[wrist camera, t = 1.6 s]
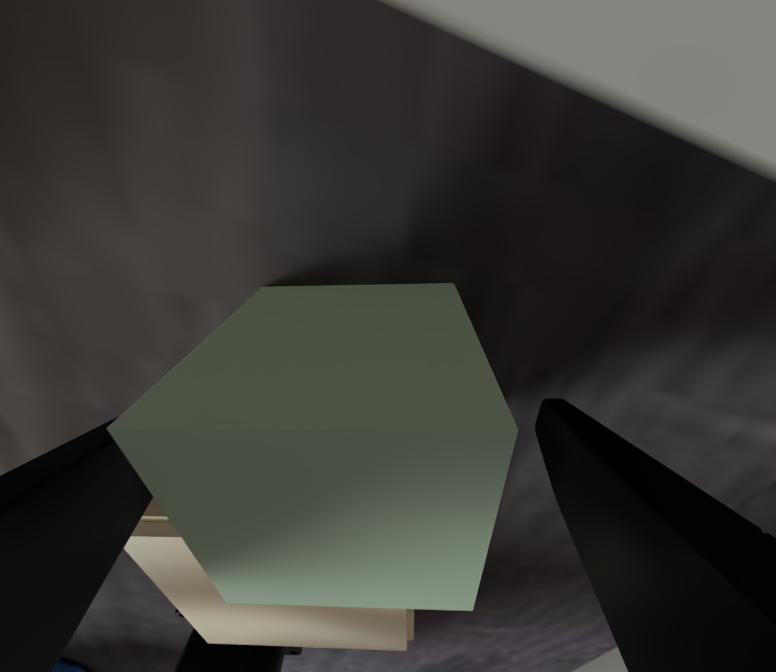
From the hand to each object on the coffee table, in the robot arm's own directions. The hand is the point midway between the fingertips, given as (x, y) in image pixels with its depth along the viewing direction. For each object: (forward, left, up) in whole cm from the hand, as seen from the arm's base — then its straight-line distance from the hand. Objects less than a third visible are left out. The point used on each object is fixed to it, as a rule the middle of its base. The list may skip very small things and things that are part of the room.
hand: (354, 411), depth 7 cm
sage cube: (0, 0, -2) cm, 2 cm away
